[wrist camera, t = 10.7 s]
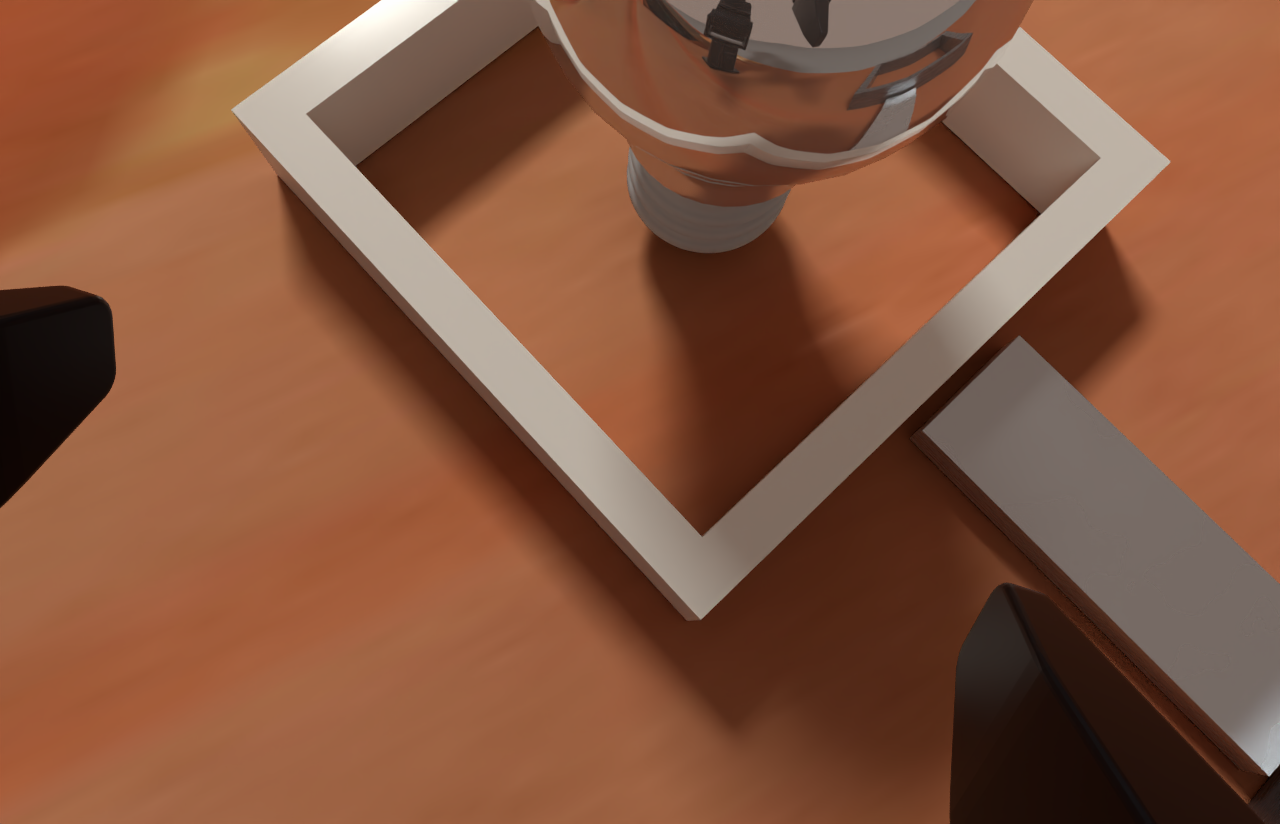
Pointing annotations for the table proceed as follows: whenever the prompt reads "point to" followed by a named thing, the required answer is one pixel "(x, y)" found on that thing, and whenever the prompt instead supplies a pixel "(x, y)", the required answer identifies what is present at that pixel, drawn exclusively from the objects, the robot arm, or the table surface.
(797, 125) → the light bulb
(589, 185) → the table surface
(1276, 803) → the collar
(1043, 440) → the rail strip
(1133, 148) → the collar
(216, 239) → the table surface
